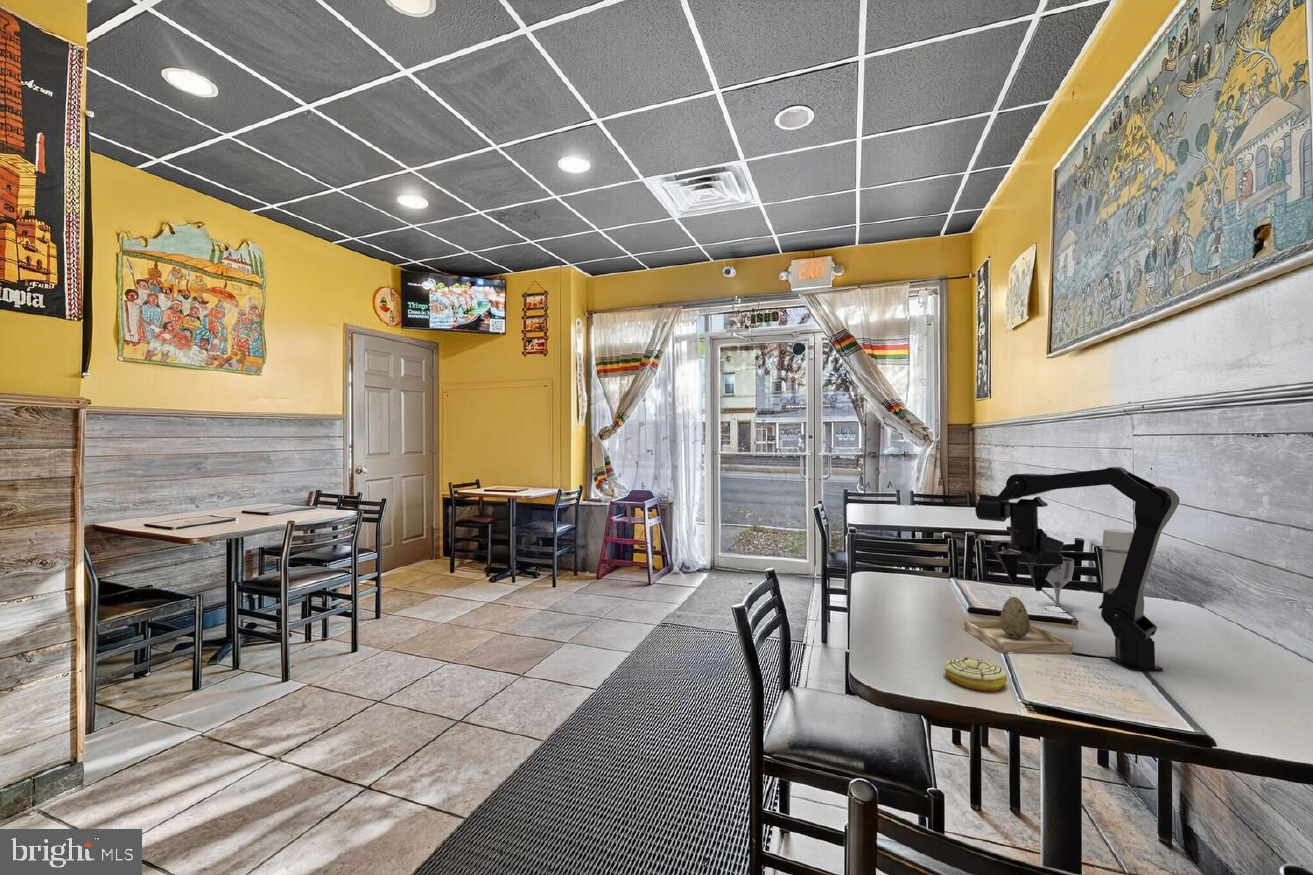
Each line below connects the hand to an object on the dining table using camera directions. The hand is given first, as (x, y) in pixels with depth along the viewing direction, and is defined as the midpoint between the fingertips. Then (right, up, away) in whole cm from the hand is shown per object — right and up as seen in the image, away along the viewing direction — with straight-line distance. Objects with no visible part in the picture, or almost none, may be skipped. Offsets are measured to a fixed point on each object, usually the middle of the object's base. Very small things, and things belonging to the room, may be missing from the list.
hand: (1025, 586), depth 134 cm
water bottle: (+33, -13, +12) cm, 38 cm away
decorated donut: (-28, -13, -25) cm, 39 cm away
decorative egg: (-4, -12, -2) cm, 13 cm away
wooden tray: (-4, -13, -2) cm, 14 cm away
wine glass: (+26, -14, +24) cm, 38 cm away
